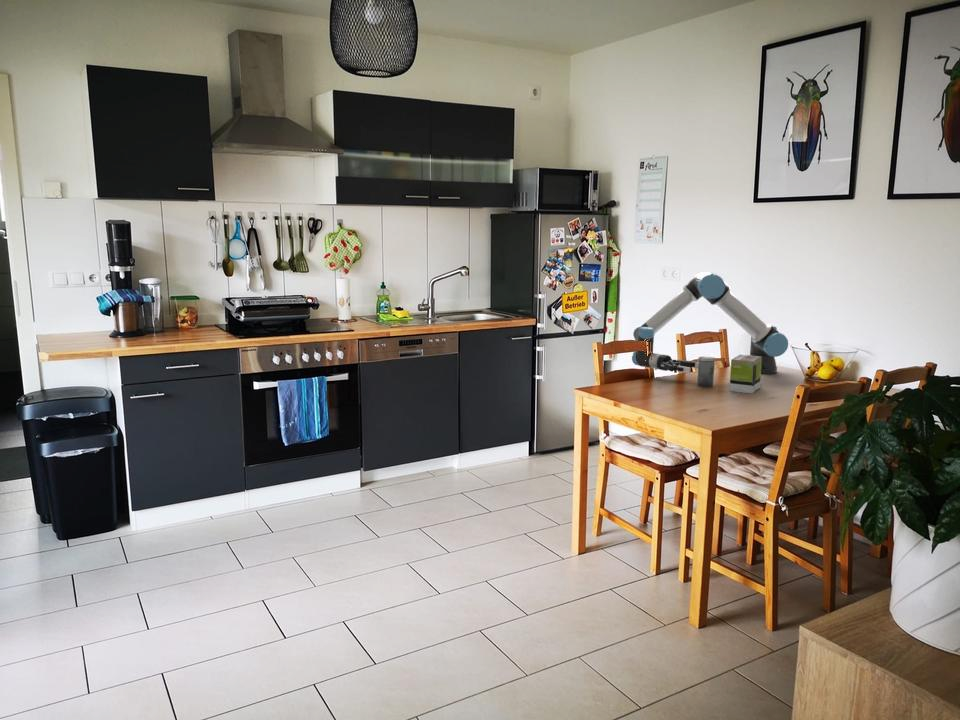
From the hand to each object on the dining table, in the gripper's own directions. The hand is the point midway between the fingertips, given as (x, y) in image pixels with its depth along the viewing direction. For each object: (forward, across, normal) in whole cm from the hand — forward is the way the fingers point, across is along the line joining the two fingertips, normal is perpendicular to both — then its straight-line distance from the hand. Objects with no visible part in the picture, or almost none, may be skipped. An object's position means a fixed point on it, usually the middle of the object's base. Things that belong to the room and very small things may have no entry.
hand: (699, 368), depth 330 cm
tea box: (+19, -8, -8) cm, 22 cm away
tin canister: (+3, 0, -7) cm, 8 cm away
